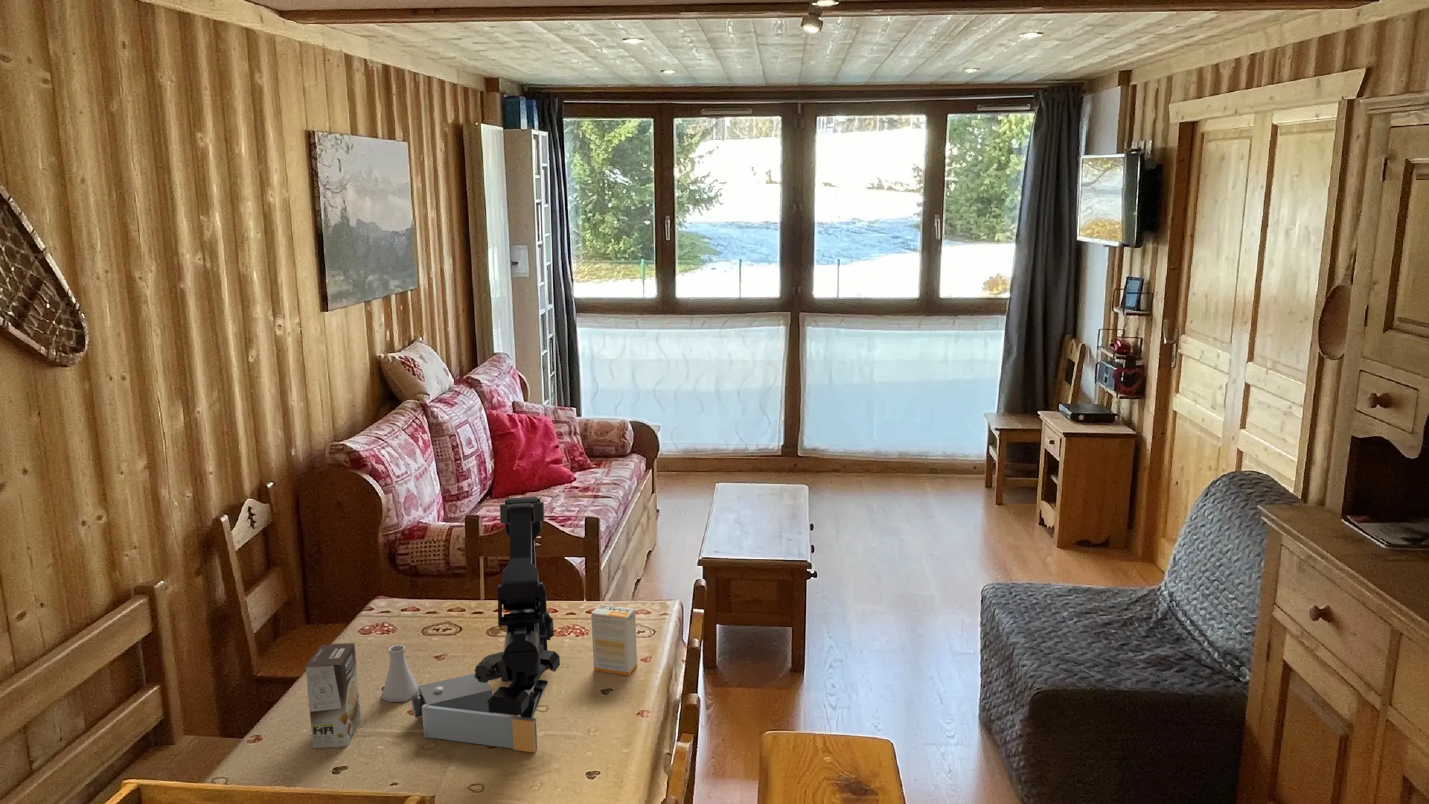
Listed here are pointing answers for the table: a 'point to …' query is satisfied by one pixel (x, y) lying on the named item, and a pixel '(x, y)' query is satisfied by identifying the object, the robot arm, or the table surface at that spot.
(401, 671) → the flask
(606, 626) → the supplement box
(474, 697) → the camera housing
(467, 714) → the side door
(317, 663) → the coffee box
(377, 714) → the table surface
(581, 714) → the table surface
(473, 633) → the table surface
